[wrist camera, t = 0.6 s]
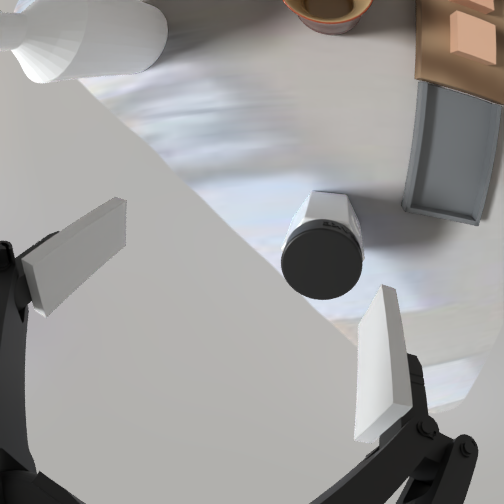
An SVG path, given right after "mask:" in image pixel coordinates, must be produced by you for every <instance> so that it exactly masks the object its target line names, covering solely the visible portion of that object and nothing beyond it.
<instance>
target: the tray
mask: <svg viewBox="0 0 504 504" xmlns="http://www.w3.org/2000/svg"><path fill="white" fill-rule="evenodd" d="M501 107H502V106H500V105H496V104H491V103H488V102H485V101H483V100H480V99H477V98H474V97H471V96H468V95H465V94H461V93H458V92H455V91H451V90H448V89H444V88H441V87H437V86H433V85H429V84H428V83H427V82H418V93H417V104H416V115H415V124H414V132H413V140H412V147H411V154H410V161H409V167H408V173H407V179H406V185H405V190H404V195H403V200H402V205H401V206H402V207H403V209H404V211H405V212H410V213H416V214H421V215H426V216H431V217H436V218H441V219H446V220H451V221H456V222H461V223H465V224H470V225H474V226H479V222H480V219H481V215H482V212H483V208H484V204H485V200H486V196H487V192H488V188H489V183H490V179H491V174H492V169H493V164H494V158H495V153H496V147H497V140H498V133H499V126H500V117H501Z"/></svg>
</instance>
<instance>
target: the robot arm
mask: <svg viewBox="0 0 504 504" xmlns="http://www.w3.org/2000/svg"><path fill="white" fill-rule="evenodd" d="M126 203H127V201H126V200H124V199H121V198H117V197H114V198H112V199H111V200H109V201H107V202H106V203H104V204H102V205H101V206H99V207H97V208H96V209H94V210H93V211H91V212H89V213H88V214H86V215H85V216H83V217H81V218H80V219H78V220H77V221H75V222H74V223H72V224H71V225H69V226H68V227H66V228H65V229H63V230H62V231H57V232H54V233H52V234H49V235H47V236H46V237H45V238H43V239H42V240H41V241H39V242H38V243H36V244H35V245H33V246H32V247H30V248H29V249H27V250H26V251H25V252H23V253H22V254H20V255H19V256H18V257H16V258H15V257H14V253H13V248H12V245H11V243H10V242H8V241H0V504H85V503H84V502H82V501H81V500H79V499H78V498H77V497H75V496H74V495H72V494H71V493H70V492H68V491H67V490H66V489H64V488H63V487H61V486H60V485H58V484H57V483H55V482H54V481H53V480H51V479H49V478H48V477H47V476H46V475H44V474H43V473H42V472H40V471H39V473H38V474H37V472H36V467H35V463H34V460H33V458H32V455H31V453H30V451H29V448H28V441H27V429H26V416H25V349H26V333H27V321H28V312H29V311H28V303H30V302H31V301H32V303H33V306H34V309H35V311H36V312H38V313H39V314H41V315H42V316H44V317H46V318H47V317H48V316H49V315H50V314H51V313H52V312H53V311H54V310H55V309H56V308H57V307H58V306H59V305H60V304H61V303H62V302H63V301H64V300H65V299H66V298H67V297H68V296H69V295H71V294H72V293H73V292H74V291H75V290H76V289H77V288H78V287H79V286H80V285H81V284H82V283H84V282H85V281H86V280H87V279H88V278H89V277H90V276H91V275H92V274H93V273H94V272H96V271H97V270H98V269H99V268H100V267H101V266H102V265H104V264H105V263H106V262H107V261H108V260H109V259H110V258H112V257H113V256H114V255H115V254H116V253H117V252H118V251H120V250H121V249H122V248H123V247H125V246H126ZM379 437H380V440H379V446H378V447H377V448H376V449H374V450H373V451H372V452H371V453H369V454H368V455H366V458H365V459H364V460H363V461H362V462H360V463H359V464H358V465H357V466H356V467H355V468H354V469H352V470H351V471H350V472H349V473H348V474H347V475H345V476H344V477H343V478H342V479H341V480H339V481H338V482H337V483H336V484H334V485H333V486H332V487H331V488H329V489H328V490H327V491H325V492H324V493H323V494H321V495H320V496H319V497H318V498H316V499H315V500H314V501H312V502H311V503H310V504H384V503H385V502H386V501H387V500H388V499H389V498H390V497H391V496H392V495H393V493H394V492H395V491H396V490H397V489H398V488H399V487H400V486H401V485H402V483H403V482H404V481H405V480H406V479H407V478H408V477H409V479H408V481H407V483H406V485H405V487H404V489H403V491H402V493H401V495H400V497H399V499H398V500H397V502H396V504H463V503H464V500H465V497H466V494H467V491H468V488H469V485H470V481H471V479H472V475H473V472H474V468H475V465H476V461H477V457H478V447H477V444H476V442H475V441H474V439H473V438H472V437H470V436H468V435H465V434H464V435H460V436H458V437H457V438H456V439H454V440H453V439H451V438H449V437H447V436H445V435H443V434H441V433H440V432H439V428H438V425H437V423H436V422H435V420H434V419H433V418H432V417H430V416H429V415H428V408H427V399H426V392H425V386H424V378H423V371H422V366H421V364H420V362H419V360H418V358H417V356H415V355H411V354H408V353H407V352H406V345H405V339H404V332H403V326H402V321H401V315H400V310H399V304H398V299H397V294H396V289H394V288H391V287H388V286H386V285H383V284H381V286H380V288H379V290H378V291H377V293H376V295H375V297H374V299H373V300H372V302H371V304H370V306H369V308H368V309H367V311H366V313H365V315H364V316H363V318H362V320H361V321H360V323H359V325H358V378H357V401H356V418H355V432H354V440H355V441H360V442H366V443H373V442H374V441H375V440H376V439H378V438H379Z"/></svg>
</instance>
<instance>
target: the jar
mask: <svg viewBox="0 0 504 504" xmlns="http://www.w3.org/2000/svg"><path fill="white" fill-rule="evenodd" d="M281 250H282V252H283V253H282V257H281V268H282V272H283V275H284V277H285V279H286V281H287V282H288V284H289V285H290V286H291V287H292V288H293V289H294V290H295V291H297V292H298V293H300V294H302V295H304V296H306V297H309V298H312V299H318V300H328V299H333V298H337V297H340V296H342V295H344V294H345V293H347V292H348V291H350V290H351V289H352V288H353V287H354V286H355V284H356V283H357V281H358V280H359V278H360V275H361V271H362V262H363V260H364V259H365V257H364V249H363V241H362V234H361V227H360V223H359V221H358V218H357V216H356V214H355V212H354V209H353V207H352V205H351V203H350V201H349V198H348V196H347V195H345V194H336V193H326V192H316V191H311V192H310V194H309V195H308V197H307V198H306V199H305V201H304V202H303V204H302V205H301V206H300V208H299V209H298V211H297V212H296V214H295V215H294V216H293V218H292V221H291V224H290V226H289V229H288V232H287V234H286V237H285V240H284V242H283V245H282V248H281Z"/></svg>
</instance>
